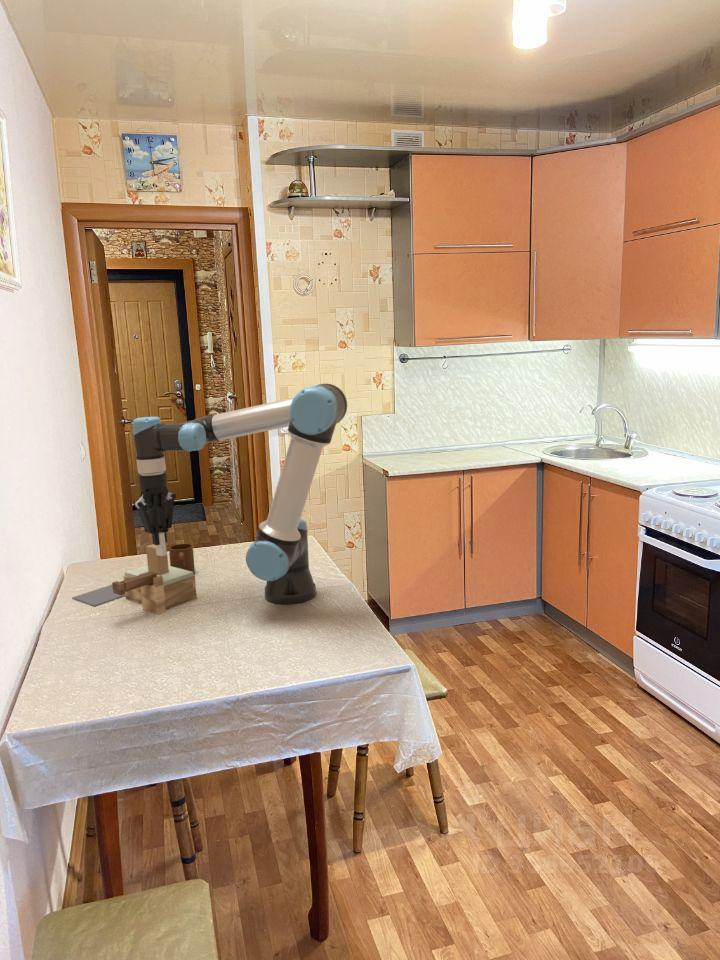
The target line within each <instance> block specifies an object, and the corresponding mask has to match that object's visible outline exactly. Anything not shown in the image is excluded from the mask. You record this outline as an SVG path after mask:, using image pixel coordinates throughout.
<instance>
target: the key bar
mask: <svg viewBox="0 0 720 960" xmlns="http://www.w3.org/2000/svg"><path fill="white" fill-rule="evenodd" d="M155 577H157V574H156V573H155V572H148V573H145V574H142V575H139V576H136V577H133V578H129V579H126V580H124V579H123V580H121V581H118V580H116V581H112V582H111V585H112V586H113V593H115V594H118V595H123V594H125V592H127V591H130V590H133V589H136V588H139V587H142V586H145V585H148V584H151V583H153V578H155Z"/></svg>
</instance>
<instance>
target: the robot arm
mask: <svg viewBox="0 0 720 960" xmlns="http://www.w3.org/2000/svg"><path fill="white" fill-rule="evenodd" d="M347 411H348V400H347V397H346V394H345V393H344V391H343V390H342V389H341V388H340V387H338V386H336V385H334V384H331V383H321V384H317V385H310V386H306V387H304V388H302V389H301V390H300V391H298V393H296V394H295V395H294V397H290V398H286V399H280V400H276V401H271V402H268V403H267V402H266V403H263V404H257V405H253V406H250V407H249V406H248V407H243V408H239V409H236V410H231V411H226V412H221V413H218V414H213V415H208V416H201V417H198V418H195V419H193V420H187V421H184V422H180V423H162V421H161V418H160V417H159V416H144V417H143V416H142V417H137V418H135V419H133V421H132V433H133V434H132V436H133V442H134V448H135V456H136V457H135V458H136V466H137V467H136V468H137V473H138V474H139V475H138V486H139V488H140V494H139V495H140V496H139V497H140V498H139V499H138V500H137V501H133V503H132V504H133V506H134V507H135V509H136V510H137V512H138V516H139V517H140V521H141V524H142V527H143V529H144V532H145V533H146V534H151V538H152V544H154V545H155V547H156V555H158V556H165V555H167V556H168V552H167V553H166V546H167V545H166V543H167V542H168V537H167V533H169V529H171V528H172V527H173V526H172V525H173V515H174V504H175V500H176V497H177V494H176V493H172V492H169V488H168V487H167V486H168V477H167V475H168V474H167V473H166V470H167V466H166V458H165V453H166V452H195V451H201V450H203V449H204V446H205V445H206V444H211V443H215V442H219V441H224V440H229V439H234V438H239V437H243V436H249V435H252V434H253V435H254V434H258V433H262V432H263V433H264V432H267V431H272V430H277V429H278V430H279V429H282V428H286V427H287V432H288V434H289V436H290V441H289V445H288V447H287V451H286V455H285V458H284V461H283V464H282V468H281V472H280V475H279V478H278V481H277V485H276V488H275V491H274V493H273V494H274V495H273V497H272V501H271V504H270V508H269V511H268V515H267V518H266V520H263V521H262V522H260V523H259V525H258V529H257V532H256V535H255V538H254V542H253V543H251V545H250V546H249V547H248V549H247V551H246V554H245V562H246V565H247V568H248V570H249V571H250V572H251V574H252V575H253V576H254V577H256V578H257V579H259V580H262V581H265V582H266V585H265V587H264V598H265V600H266V601H267V602H270V603H273V604H281V605H289V604H290V605H291V604H300V603H303V602H308V601H309V600H312V599H313V598H315V597H316V595H317V586H316V583H315V582H314V579H313V576H312V573H311V571H310V565H309V564H310V563H309V562H310V561H309V542H308V538H309V537H308V532H309V531H308V530H309V529H308V526H307V521H305V520H304V519H301V518H302V515H303V512H304V509H305V505H306V503H307V499H308V496H309V493H310V490H311V486H312V484H313V480H314V476H315V475H316V474H315V473H316V471H317V467H318V464H319V461H320V457H321V454H322V451H323V448H324V447H327V446H328V445H330V444H331V442H332V438H333V435H334V432H335V429H336V426H337V424H339V423H340V422H341V421H342V420H344V417H345V415H346V413H347Z"/></svg>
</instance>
